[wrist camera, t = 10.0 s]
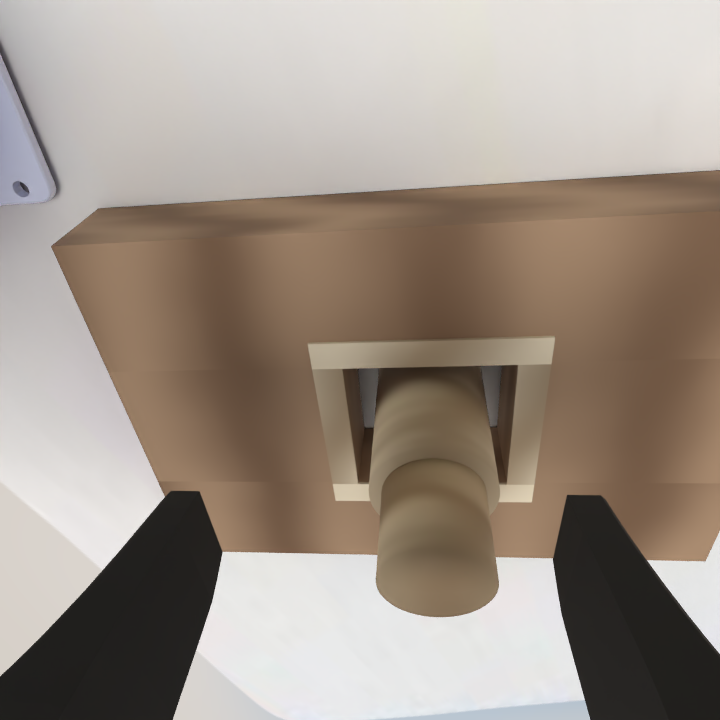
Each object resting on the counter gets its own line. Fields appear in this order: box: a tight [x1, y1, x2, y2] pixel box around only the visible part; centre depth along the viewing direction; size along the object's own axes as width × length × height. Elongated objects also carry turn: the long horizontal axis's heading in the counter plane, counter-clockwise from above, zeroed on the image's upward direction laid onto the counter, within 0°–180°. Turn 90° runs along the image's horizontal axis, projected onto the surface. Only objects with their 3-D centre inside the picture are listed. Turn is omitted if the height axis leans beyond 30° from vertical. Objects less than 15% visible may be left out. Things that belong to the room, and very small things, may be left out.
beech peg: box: [369, 366, 500, 617], centre depth 18 cm, size 4×4×9 cm
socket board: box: [51, 171, 720, 561], centre depth 20 cm, size 22×15×3 cm
